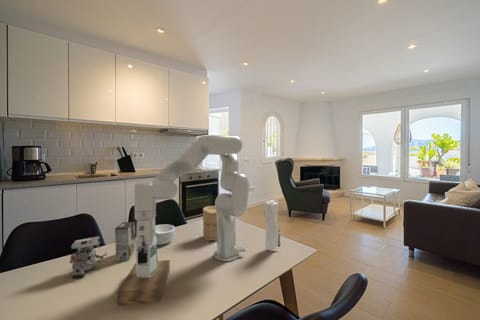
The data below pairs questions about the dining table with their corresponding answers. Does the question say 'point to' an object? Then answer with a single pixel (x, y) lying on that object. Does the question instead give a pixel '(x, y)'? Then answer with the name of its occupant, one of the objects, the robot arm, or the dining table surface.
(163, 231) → the paper bowls
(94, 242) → the figurine
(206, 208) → the container
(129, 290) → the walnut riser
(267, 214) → the skyscraper
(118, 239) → the coffee box
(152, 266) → the syrup box
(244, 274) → the dining table surface
